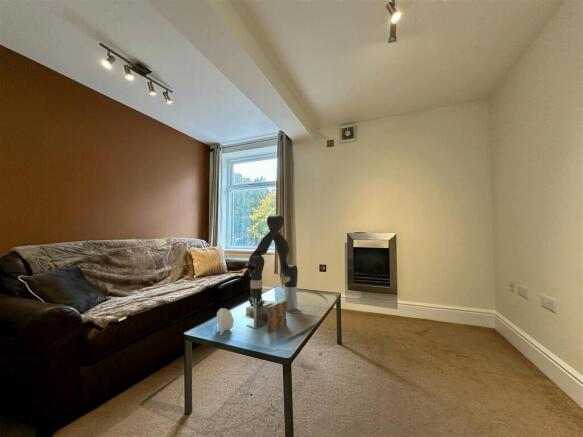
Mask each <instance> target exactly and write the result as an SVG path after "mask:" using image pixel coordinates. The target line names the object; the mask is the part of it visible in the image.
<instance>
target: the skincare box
mask: <svg viewBox="0 0 583 437" xmlns="http://www.w3.org/2000/svg"><path fill="white" fill-rule="evenodd" d="M263 300H264V301H265V302H264V304H266V303H270V306H272V305H274V304H277V303H279V302H280V301H276V300H275V301H273V300H267V299H263ZM250 310H254V308H253V307H252V306H251V304H250V305H248V306H246V307H245V314H246V315H249V316H250Z"/></svg>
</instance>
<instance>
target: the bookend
mask: <svg viewBox="0 0 583 437" xmlns="http://www.w3.org/2000/svg"><path fill="white" fill-rule="evenodd" d="M269 306H270V303H266V304H263V305H261V306H258V307H255V308H254V317H253V321H252V322H250V323H247V324H246V327H249V328H252V329H255V330H257V329H260V328H261V327H263V326H266V325H267V311H268V307H269Z"/></svg>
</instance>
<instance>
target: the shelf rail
mask: <svg viewBox="0 0 583 437" xmlns="http://www.w3.org/2000/svg"><path fill="white" fill-rule="evenodd" d="M249 317H252V318H254V310H250V315H249ZM287 324H288V321H287V318H286V319H285V326H284V327H287Z"/></svg>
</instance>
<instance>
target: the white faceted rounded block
mask: <svg viewBox="0 0 583 437" xmlns="http://www.w3.org/2000/svg"><path fill="white" fill-rule="evenodd" d="M216 321H217V324H218V326H219V327H220V332H219V336H221V335H222V334H223V333H224V332H225V331H231V329H233V328H234V318H233V314H232V312H231V311H230V310H228V308H222V307H221V308H220V309H218V311H217V312H216Z"/></svg>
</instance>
